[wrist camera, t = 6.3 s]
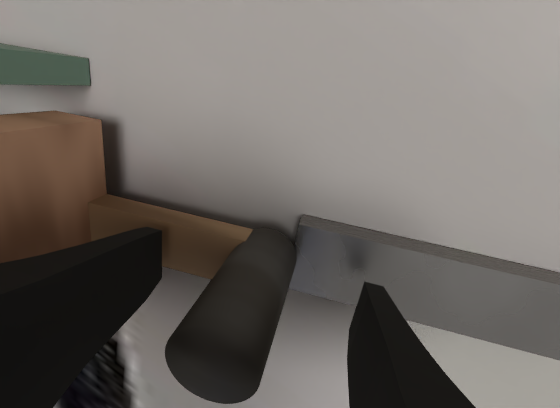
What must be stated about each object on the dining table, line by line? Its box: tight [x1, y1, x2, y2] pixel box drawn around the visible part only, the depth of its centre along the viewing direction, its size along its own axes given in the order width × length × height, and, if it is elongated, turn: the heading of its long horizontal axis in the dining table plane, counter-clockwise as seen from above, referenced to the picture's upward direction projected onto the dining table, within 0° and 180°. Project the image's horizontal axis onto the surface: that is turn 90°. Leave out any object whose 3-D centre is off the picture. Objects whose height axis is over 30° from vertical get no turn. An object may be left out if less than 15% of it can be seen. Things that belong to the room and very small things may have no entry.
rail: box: [289, 215, 560, 360], centre depth 12 cm, size 3×11×1 cm, turn 81°
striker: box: [0, 111, 297, 404], centre depth 10 cm, size 8×10×5 cm
